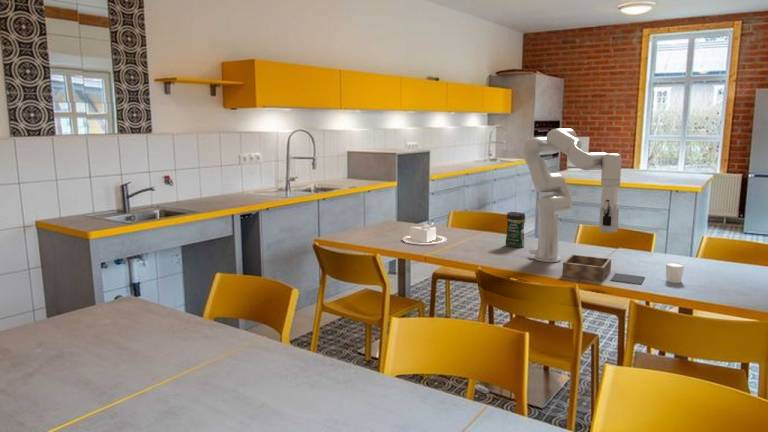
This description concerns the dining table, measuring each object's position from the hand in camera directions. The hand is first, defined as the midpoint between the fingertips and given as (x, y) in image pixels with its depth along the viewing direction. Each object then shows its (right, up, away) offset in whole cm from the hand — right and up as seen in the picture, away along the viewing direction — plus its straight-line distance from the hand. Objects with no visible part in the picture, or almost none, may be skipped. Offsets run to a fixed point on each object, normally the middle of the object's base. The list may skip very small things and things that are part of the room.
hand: (608, 223), depth 244 cm
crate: (-7, -22, +8) cm, 25 cm away
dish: (-73, -11, +78) cm, 108 cm away
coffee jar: (-26, -13, +63) cm, 69 cm away
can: (0, -4, +1) cm, 4 cm away
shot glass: (+26, -24, -3) cm, 36 cm away
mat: (+8, -24, 0) cm, 25 cm away
